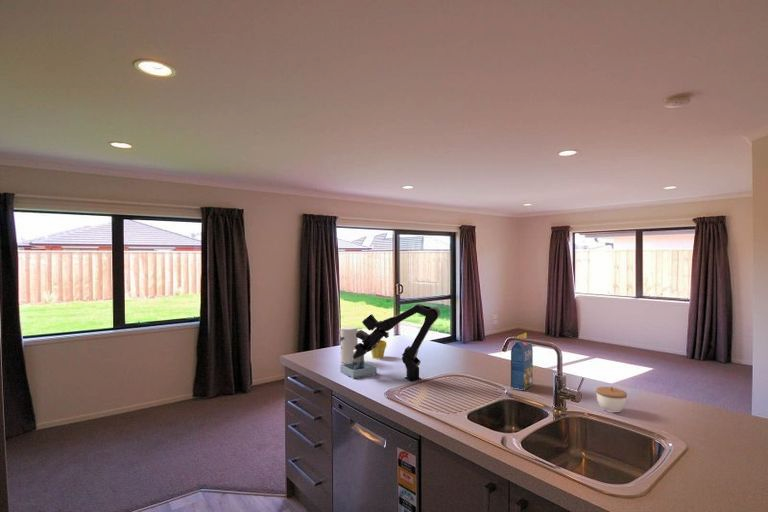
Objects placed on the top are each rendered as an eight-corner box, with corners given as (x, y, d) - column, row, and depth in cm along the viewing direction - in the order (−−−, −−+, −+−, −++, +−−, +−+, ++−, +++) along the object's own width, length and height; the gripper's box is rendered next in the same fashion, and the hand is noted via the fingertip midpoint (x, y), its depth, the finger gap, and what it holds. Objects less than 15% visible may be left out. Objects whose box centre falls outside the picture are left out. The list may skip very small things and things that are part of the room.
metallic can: (364, 370, 205) (364, 346, 205) (353, 371, 204) (353, 347, 204) (363, 367, 211) (363, 344, 211) (352, 367, 210) (352, 344, 210)
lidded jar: (611, 417, 151) (611, 392, 151) (590, 406, 161) (590, 383, 161) (633, 414, 154) (633, 390, 154) (611, 404, 164) (611, 381, 164)
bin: (376, 374, 206) (376, 366, 206) (353, 378, 198) (353, 371, 198) (362, 367, 217) (362, 360, 217) (340, 372, 209) (340, 364, 209)
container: (338, 360, 233) (338, 326, 233) (354, 358, 237) (354, 325, 237) (343, 364, 224) (343, 329, 224) (360, 362, 228) (360, 328, 228)
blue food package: (510, 388, 183) (510, 335, 183) (520, 382, 193) (520, 331, 193) (523, 391, 179) (523, 337, 179) (532, 384, 189) (533, 333, 189)
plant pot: (386, 359, 234) (386, 343, 234) (369, 359, 234) (369, 343, 234) (386, 355, 244) (386, 339, 244) (370, 355, 245) (370, 339, 245)
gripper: (371, 322, 215) (353, 341, 219) (358, 328, 197) (338, 348, 201) (385, 337, 212) (366, 356, 216) (372, 345, 195) (352, 365, 198)
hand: (356, 356), depth 208 cm, fingers closed on metallic can, 6 cm apart
